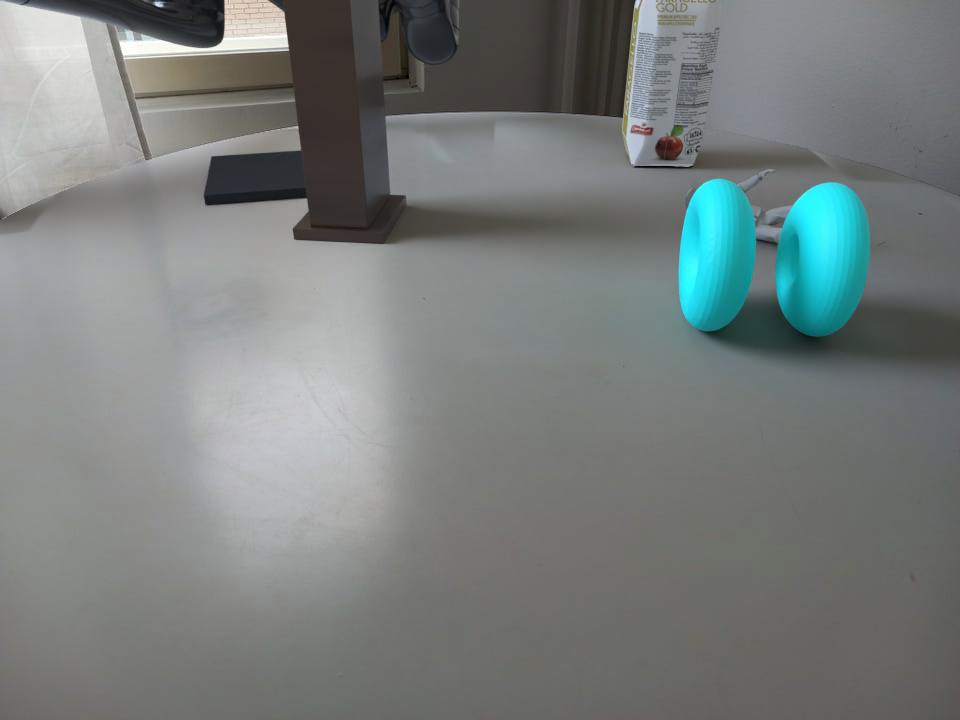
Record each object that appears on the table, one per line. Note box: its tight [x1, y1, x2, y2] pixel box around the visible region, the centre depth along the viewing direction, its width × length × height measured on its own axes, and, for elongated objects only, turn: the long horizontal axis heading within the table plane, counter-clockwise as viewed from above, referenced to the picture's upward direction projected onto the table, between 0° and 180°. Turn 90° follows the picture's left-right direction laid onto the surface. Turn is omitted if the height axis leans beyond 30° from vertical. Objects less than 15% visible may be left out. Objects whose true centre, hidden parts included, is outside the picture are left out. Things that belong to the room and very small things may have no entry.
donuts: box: [678, 178, 871, 338], centre depth 49 cm, size 10×10×10 cm
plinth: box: [283, 0, 407, 244], centre depth 61 cm, size 10×8×31 cm
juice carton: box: [621, 0, 724, 165], centre depth 81 cm, size 8×9×19 cm
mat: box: [203, 150, 307, 206], centre depth 79 cm, size 14×10×1 cm
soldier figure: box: [684, 168, 793, 244], centre depth 64 cm, size 8×5×12 cm
